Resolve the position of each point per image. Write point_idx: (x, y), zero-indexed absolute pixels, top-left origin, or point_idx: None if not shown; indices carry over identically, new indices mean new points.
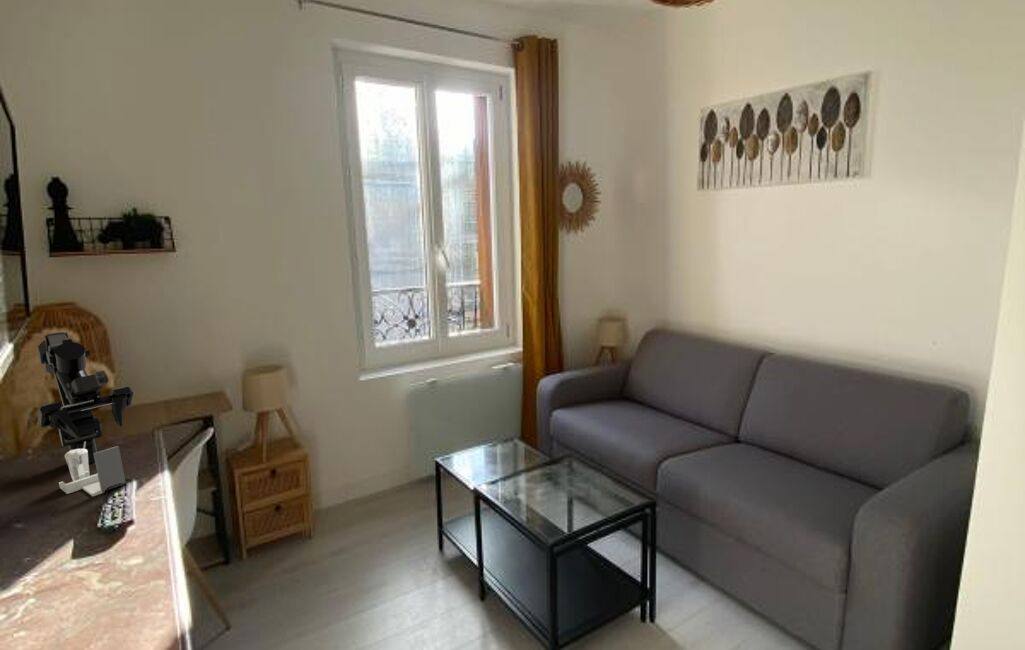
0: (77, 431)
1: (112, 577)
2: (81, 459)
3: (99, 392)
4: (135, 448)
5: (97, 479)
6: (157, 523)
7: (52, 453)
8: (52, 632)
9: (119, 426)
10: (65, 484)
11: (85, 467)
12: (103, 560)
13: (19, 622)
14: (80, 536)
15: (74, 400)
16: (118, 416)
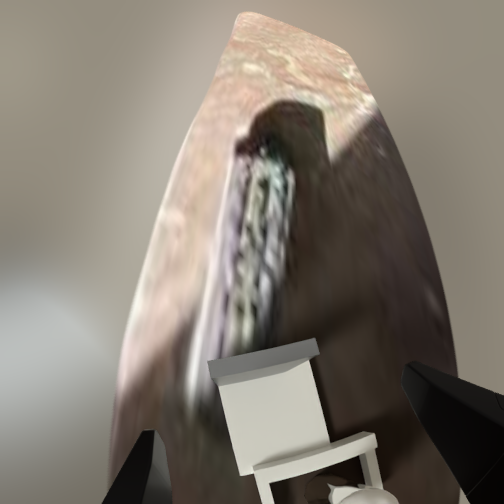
0: (430, 380)
1: (275, 59)
2: (345, 491)
3: None
4: None
5: (288, 458)
6: (205, 118)
7: None
8: (317, 40)
9: (163, 447)
10: (374, 442)
11: (325, 491)
12: (284, 85)
13: (346, 60)
14: (319, 159)
15: None
16: (135, 486)
